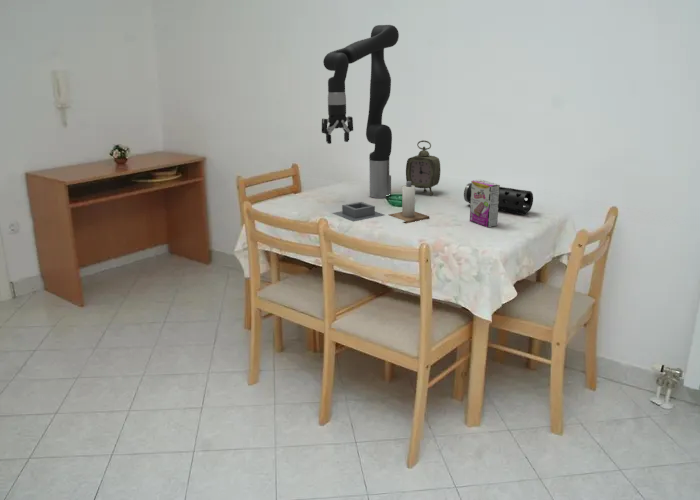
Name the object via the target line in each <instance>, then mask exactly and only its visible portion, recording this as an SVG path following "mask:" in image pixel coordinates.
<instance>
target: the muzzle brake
mask: <svg viewBox="0 0 700 500" xmlns="http://www.w3.org/2000/svg"><path fill="white" fill-rule="evenodd" d="M463 191H464V192H463V199H464V201H465V202H466V203H469V204H470V203H471V182H468V183H467V184H466V186H465V187H464V190H463ZM533 203H534V194H533V192H532V191H531V190H526V189H518V188H511V187H503V186H500V188H499V205H498V211H504V212H508V213H513V214H519V215H523V216H524V215H527V214H528V213H529V212H530V210H531V209H532V207H533Z"/></svg>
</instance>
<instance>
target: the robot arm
mask: <svg viewBox="0 0 700 500" xmlns="http://www.w3.org/2000/svg"><path fill="white" fill-rule="evenodd" d="M399 36H400V33H399V30H398V28H397V27H396V26H395V25H391V24H379V25H374V26H373V28H372V30H371V33H370V37H368V38H367V37H366V38H364V39H360V40H357V41H355V42H352V43H351V44H348V45H347V46H344V47H342V48H340V49H335V50H332V51H330V52H329V53H326V55H325V56H324V58H323V61H322V62H323V66H324V68H325V69H326V70H327V71H332V72H334V74H333V76H331V77H329V78H328V80H327V92H328V94H327V113H328V118H321V133H322V134H323V135H324V134H325V140H326V141H325V142H326V143H327V144H329V145H331V144H332V135H331V134H332V133H333V131H334V130H336V129H342V131H343V140H344V142H345V143H348V142H349V141H350V132H354V119H353V117H352V116H349V115H348V116H346V115H347V97H346V96H347V95H346V78H347V74H348V70H349V64H353V63H355V62H357V61H359V60H361V59H363V58H365V57H367V56H369V55H371V57H370V62H371V63H370V80H369V81H370V82H369V83H370V84H369V104H368V115H367V116H368V117H367V123H366V128H365V130H366V131H365V137H366V139H367V142H369V144H373V145H374V150H373V151H372V152H370V153H369V155H368V156H369V158H368V159H369V160H368V161H369V197H370V198H375V199H385V198H387V197H386V195H389V194H391V195H392V175H390V156H391V153H392V148H393V147H392V145H393V143H392V142H393V134H392V129H391V128H390V126H388V125H386V124H383V113H384V109H385V107H386V105H387V104H388V101H389V99H390V95H391V90H392V89H391V87H392V77H391V75H390V71H389V69H388V66H387V64H386V61H385V49H387V48H391V47H394V46H395V45H396V44H398V43H397V42H398V41H399ZM346 122H347V123H346Z"/></svg>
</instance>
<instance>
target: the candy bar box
mask: <svg viewBox="0 0 700 500" xmlns="http://www.w3.org/2000/svg"><path fill="white" fill-rule="evenodd" d="M470 183H471V203H469V204H470V205H469V206H470V207H469V222H472V223H475V224H478V225H480V226H483V227H486V228H494V227H497V226H498V221H499V220H498V217H499V216H498V215H499V209H498V205H499V188H500V187H501V184H498V183H494V182H491V181H487V180H483V179H475V180H471V182H470Z"/></svg>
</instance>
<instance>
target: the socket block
mask: <svg viewBox="0 0 700 500" xmlns="http://www.w3.org/2000/svg"><path fill="white" fill-rule="evenodd" d="M341 208H342V209H341V211H336V212H332V215H335V216H338V217H340V218H342V219H345V220H348V221H351V222H358V221H363V220H369V219H374V218H378V217H384V216H385V214H383V213H381V212H378V211H376V209H375V208H376V206H375V205H372V204H369V203H366V202H363V201H360V202H354V203H347V204H343V205H342V206H341Z"/></svg>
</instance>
